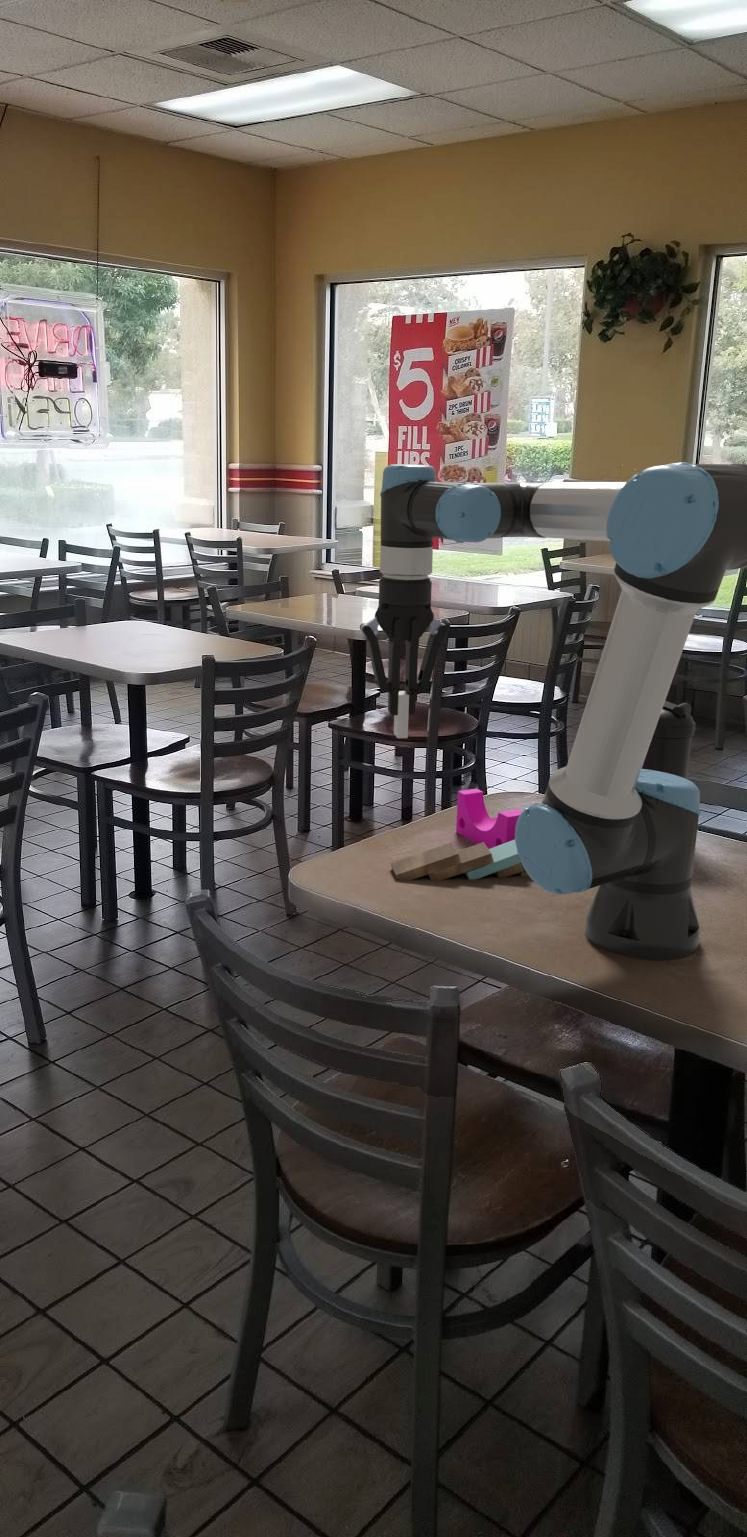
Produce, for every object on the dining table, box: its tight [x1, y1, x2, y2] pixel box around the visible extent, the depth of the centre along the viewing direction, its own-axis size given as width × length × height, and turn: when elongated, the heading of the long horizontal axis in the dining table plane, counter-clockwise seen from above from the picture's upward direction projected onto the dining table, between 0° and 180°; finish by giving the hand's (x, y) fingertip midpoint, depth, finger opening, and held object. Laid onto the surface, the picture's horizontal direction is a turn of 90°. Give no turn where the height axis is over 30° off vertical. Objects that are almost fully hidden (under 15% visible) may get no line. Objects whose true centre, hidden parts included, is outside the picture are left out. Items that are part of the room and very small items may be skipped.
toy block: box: [455, 788, 523, 849], centre depth 200 cm, size 15×6×8 cm, turn 28°
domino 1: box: [390, 842, 461, 881], centre depth 185 cm, size 2×5×10 cm
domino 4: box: [493, 862, 526, 878], centre depth 188 cm, size 2×5×10 cm
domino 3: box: [463, 840, 522, 880], centre depth 187 cm, size 2×5×10 cm
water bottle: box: [642, 700, 696, 779], centre depth 206 cm, size 10×10×23 cm
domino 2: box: [427, 842, 494, 881], centre depth 185 cm, size 2×5×10 cm
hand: (400, 735), depth 178 cm, fingers closed
